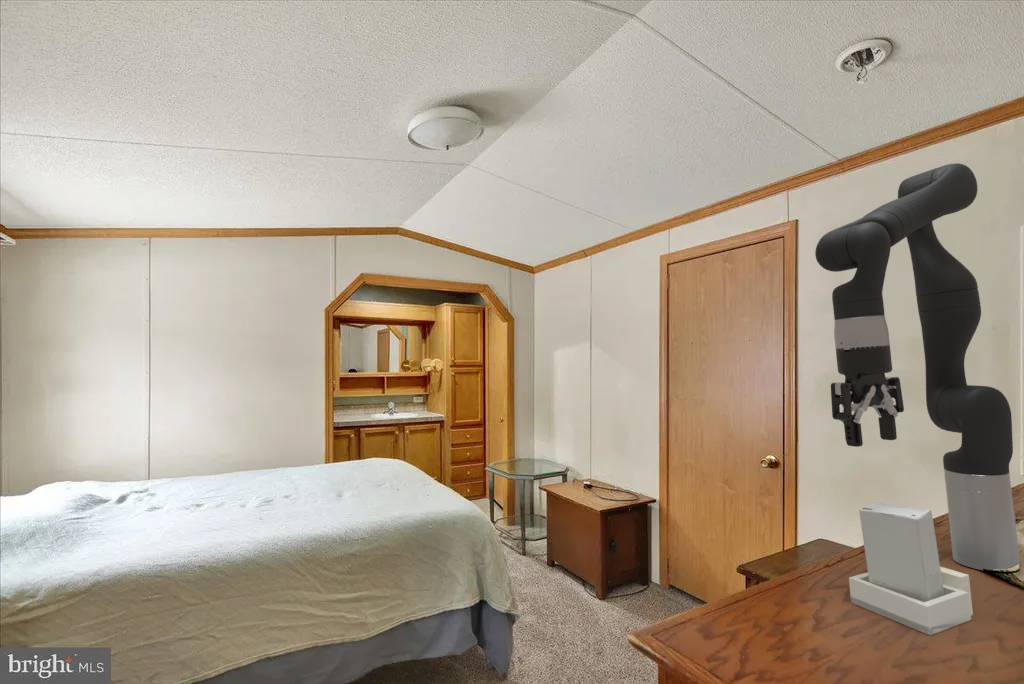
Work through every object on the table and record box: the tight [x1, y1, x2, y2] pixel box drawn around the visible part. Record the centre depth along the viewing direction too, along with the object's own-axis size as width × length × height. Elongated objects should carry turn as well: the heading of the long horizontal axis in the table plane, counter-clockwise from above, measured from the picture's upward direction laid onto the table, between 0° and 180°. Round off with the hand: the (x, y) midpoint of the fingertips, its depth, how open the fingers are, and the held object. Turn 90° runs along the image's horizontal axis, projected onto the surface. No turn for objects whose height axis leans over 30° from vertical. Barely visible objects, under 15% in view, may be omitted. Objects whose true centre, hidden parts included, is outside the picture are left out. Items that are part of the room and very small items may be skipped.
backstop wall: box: [940, 566, 974, 616], centre depth 83 cm, size 2×10×6 cm, turn 21°
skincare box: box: [858, 502, 945, 602], centre depth 81 cm, size 8×6×15 cm
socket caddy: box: [848, 571, 972, 636], centre depth 81 cm, size 10×12×4 cm
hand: (872, 442), depth 85 cm, fingers open, 8 cm apart
